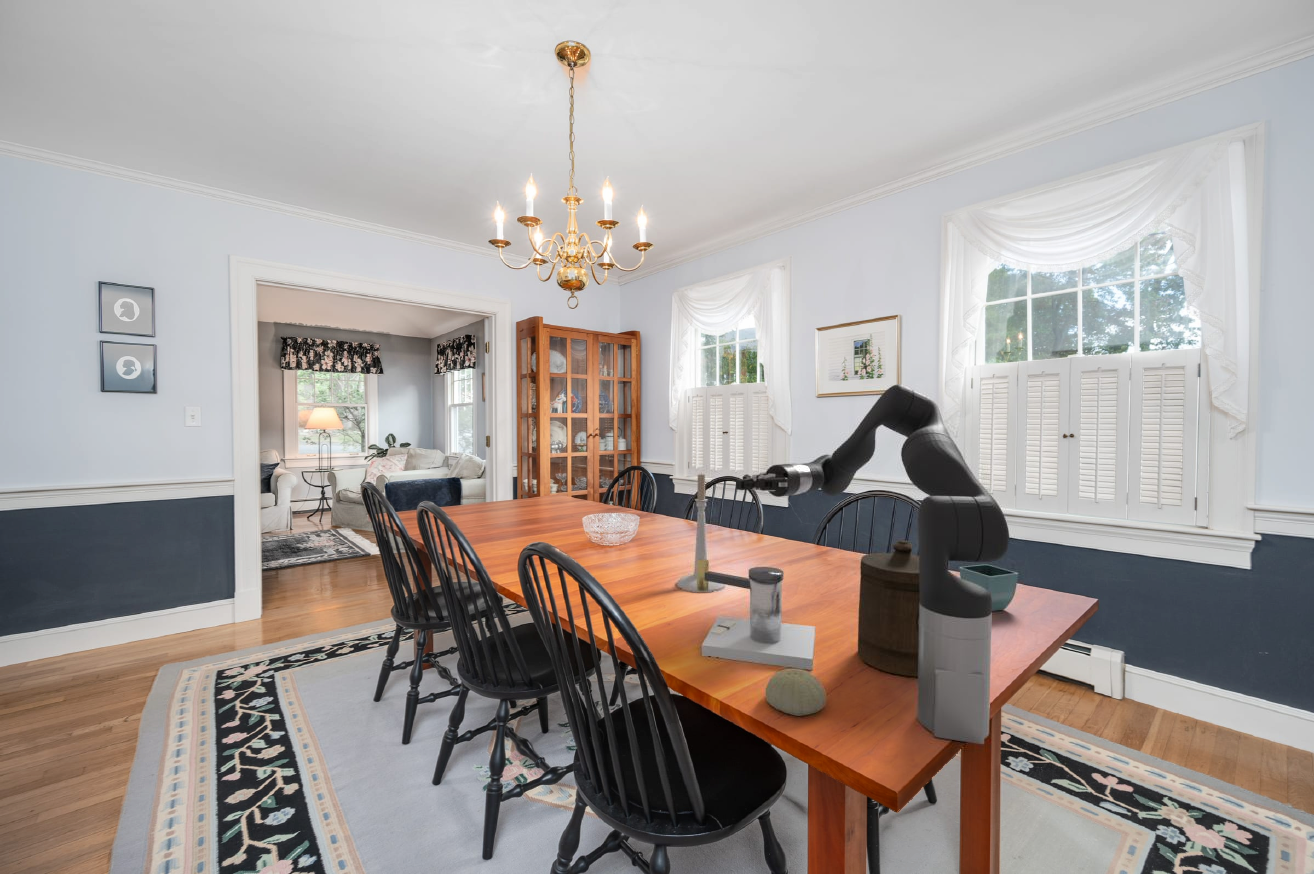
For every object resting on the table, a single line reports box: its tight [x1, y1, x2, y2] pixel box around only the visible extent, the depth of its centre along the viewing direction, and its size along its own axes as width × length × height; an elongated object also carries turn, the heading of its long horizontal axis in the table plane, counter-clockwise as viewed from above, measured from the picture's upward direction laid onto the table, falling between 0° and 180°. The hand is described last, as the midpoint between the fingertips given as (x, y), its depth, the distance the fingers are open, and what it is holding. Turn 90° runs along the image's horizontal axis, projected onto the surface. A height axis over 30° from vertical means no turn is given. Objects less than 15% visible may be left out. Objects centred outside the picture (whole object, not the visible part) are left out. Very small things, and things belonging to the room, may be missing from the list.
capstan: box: [697, 559, 785, 642], centre depth 111 cm, size 18×7×13 cm, turn 55°
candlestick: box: [676, 473, 726, 593], centre depth 148 cm, size 13×13×30 cm
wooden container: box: [857, 539, 920, 678], centre depth 103 cm, size 15×15×22 cm
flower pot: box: [958, 563, 1019, 612], centre depth 131 cm, size 9×9×9 cm
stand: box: [701, 615, 816, 671], centre depth 109 cm, size 16×20×2 cm
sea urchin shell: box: [765, 668, 827, 717], centre depth 87 cm, size 9×8×8 cm
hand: (738, 485), depth 122 cm, fingers closed
